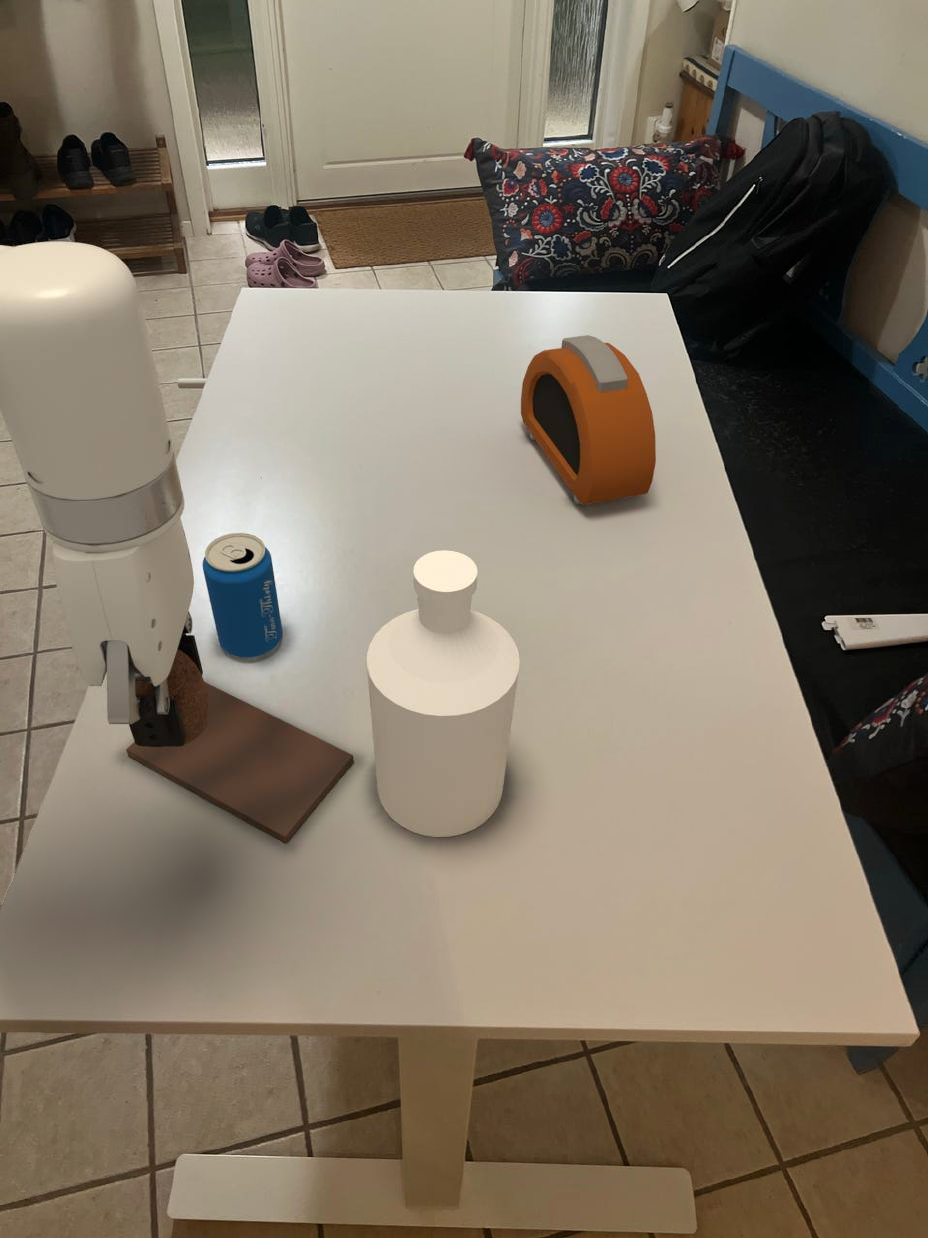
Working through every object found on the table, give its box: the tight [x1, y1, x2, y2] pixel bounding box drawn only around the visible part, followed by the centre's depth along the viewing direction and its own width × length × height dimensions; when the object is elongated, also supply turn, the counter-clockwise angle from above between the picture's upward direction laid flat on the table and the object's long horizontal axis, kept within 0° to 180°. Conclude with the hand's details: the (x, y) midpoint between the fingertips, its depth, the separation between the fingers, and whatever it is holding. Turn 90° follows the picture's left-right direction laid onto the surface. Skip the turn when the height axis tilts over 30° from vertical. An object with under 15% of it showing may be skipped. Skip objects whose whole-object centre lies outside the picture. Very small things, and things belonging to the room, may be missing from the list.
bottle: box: [366, 550, 521, 838], centre depth 71 cm, size 12×12×25 cm
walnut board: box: [125, 681, 355, 844], centre depth 81 cm, size 18×10×1 cm, turn 61°
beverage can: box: [202, 532, 283, 659], centre depth 88 cm, size 6×6×12 cm
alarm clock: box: [520, 334, 657, 506], centre depth 112 cm, size 23×9×17 cm, turn 18°
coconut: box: [135, 649, 209, 744], centre depth 60 cm, size 5×5×8 cm
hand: (170, 707), depth 60 cm, fingers closed on coconut, 5 cm apart
